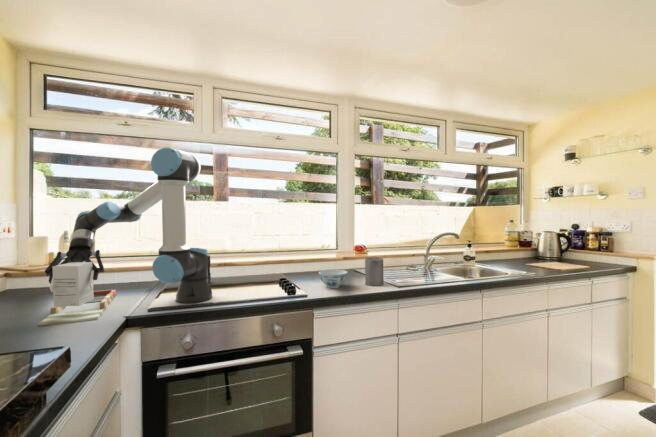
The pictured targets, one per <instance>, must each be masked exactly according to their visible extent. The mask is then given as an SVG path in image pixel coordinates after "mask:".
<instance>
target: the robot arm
mask: <svg viewBox="0 0 656 437" xmlns="http://www.w3.org/2000/svg"><path fill="white" fill-rule="evenodd" d="M150 168H151V170H152V171H153V173H154V174H155V175H157V181H155V182H154V183H153V184H152V185H150V186H149V187H147V188H146V189H144V190H143V191H142V192H141V193H139V194H138V195H136V196H135V197H134V198H132V199H131V200H129V201H128V202H127V203H125V204H123V205H118V204H117V203H115V202H113V201H111V200H110V201H109V200H108V201H107V200H106V201H105V202H103V203H101V204H99V205H98V206H96V207H95V208H94V209H92V210H91V211H89V210H85V211H81V212H80V213H78V215H77V216H76V219H75V223H74V228H73V231H72V232H73V233H72V236H71V239H70V242H69V246H68V250H67V252H62V251H58V252H57V253H56V256H55V258H54V259H53V260H52V261H51V262H50V264H49V265H48V266H47V267H46V268H45V270H44V273H45V276H47V277H48V283H49V290H50V292H51V293H53V266H57V265H61V264H65V263H70V262H92V268H93V271H91V276H90V281H89V287H90V289H93V290H94V283H95V281H97V280H98V279H99V274H100V273H104V272H105V268H104V264H103V262H102V260H101V250H99V249H96V250H95V251H93V246H94V240H95V236H96V232H97V230H99V229H100V228H102V227H103V226H105V225H107V224H111V223H116V224H117V223H133V222H134V223H135V222H137V221H139V220H140V219H141V217H142V215H143V213H145V212H146V211H148V210H149V209H150V208H152V207H153V206H155V205H156V204H158V203H159V202H160V201H161V208H162V209H161V212H162V213H161V216H162V217H161V218H162V221H161V222H162V223H161V225H162V226H161V227H162V245H161V247H159V249H158V256H157V257H156V258H155V260H153V262H152V267H151V268H152V273H153V274H154V277H155V278H156V279H157V280H158V281H160V282H161V283H163V284H174V283H179V285H178V288H177V292H176V295H175V301H176V302H178V303H183V304H184V303H185V304H187V303H188V304H190V303H199V302H204V301H207V300H210V299H212V298H213V290H212V288H211V285H210V284H209V282H208V255H209V253H208V249H207V248H205V247H190V246H188V245H187V237H186V236H187V234H186V233H187V231H186V228H187V227H186V225H187V224H186V219H187V218H186V216H187V215H186V186H188V185H189V184H190V183H191V182H193V181H194V180H195V179H197V177H198V176H199V174H200V172H201V163H200V160H199V159H198V157H196V156H195V154H192V153H191V152H186V151H184V150H180V149H178V148H176V147H169V146H165V147H161V148H158V149H157V150H156V151H155V152H154V153H153V154H152V156H151V159H150ZM92 256H93V258H96V261H97V264H98V267H97V265H95V263H94V262H93V260H91V257H92Z"/></svg>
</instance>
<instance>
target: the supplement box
mask: <svg viewBox="0 0 656 437" xmlns="http://www.w3.org/2000/svg"><path fill="white" fill-rule="evenodd" d="M92 262H93V261H92ZM92 262H85V261H84V262H70V263H65V264H61V265H57V266H53V292H52V295H53V306H54V307H60V306H67V307H79V306H82V305H83V304H88V303H87V302H89V301H91V300H93V299H94V292H93V291H94V288H93V289H90V287H89V281H90V276H91V271H93V268H92Z"/></svg>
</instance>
